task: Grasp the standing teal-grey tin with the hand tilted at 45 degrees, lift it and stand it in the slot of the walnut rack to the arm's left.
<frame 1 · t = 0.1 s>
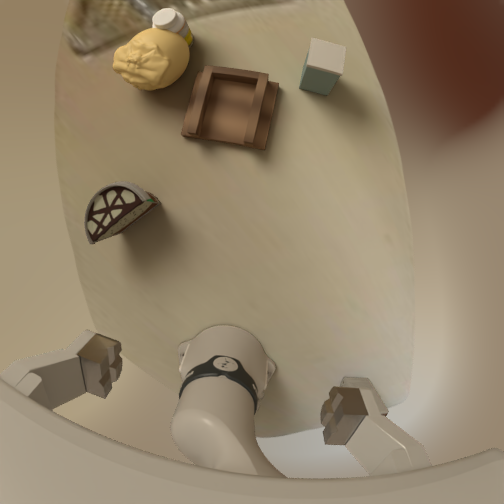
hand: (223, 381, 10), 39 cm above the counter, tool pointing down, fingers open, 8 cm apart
rack: (230, 109, 44), on the counter
supplement bottle: (180, 43, 42), on the counter, touching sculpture
skincare box: (353, 383, 53), on the counter
food container: (132, 203, 48), on the counter
tin: (315, 80, 43), on the counter
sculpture: (163, 69, 43), on the counter, touching supplement bottle
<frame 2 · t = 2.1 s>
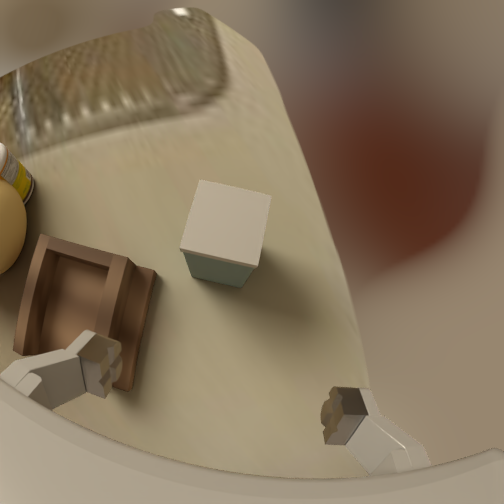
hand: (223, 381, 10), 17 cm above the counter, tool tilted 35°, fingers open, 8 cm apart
rack: (82, 312, 25), on the counter
supplement bottle: (20, 192, 27), on the counter, touching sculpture
tin: (221, 258, 29), on the counter
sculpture: (5, 241, 26), on the counter, touching supplement bottle
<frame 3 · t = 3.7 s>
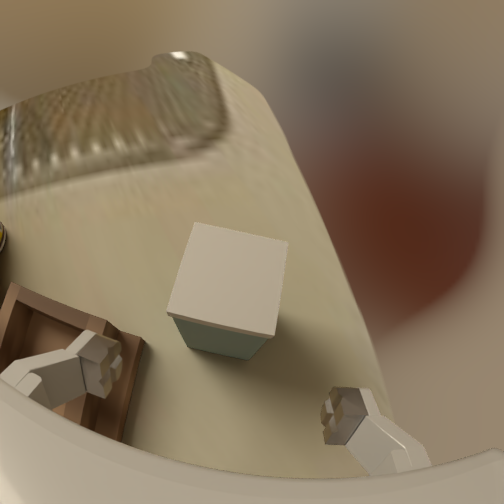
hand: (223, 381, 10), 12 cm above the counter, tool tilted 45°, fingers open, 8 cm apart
rack: (57, 379, 18), on the counter
tin: (224, 325, 23), on the counter
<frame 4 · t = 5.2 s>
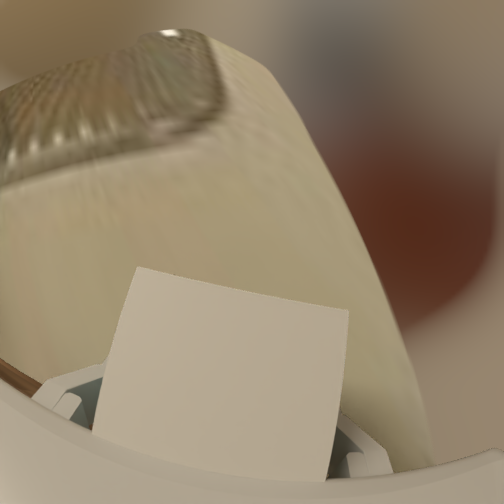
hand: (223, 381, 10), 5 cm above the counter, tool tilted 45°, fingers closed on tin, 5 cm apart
rack: (9, 446, 10), on the counter
tin: (219, 396, 14), on the counter, touching gripper
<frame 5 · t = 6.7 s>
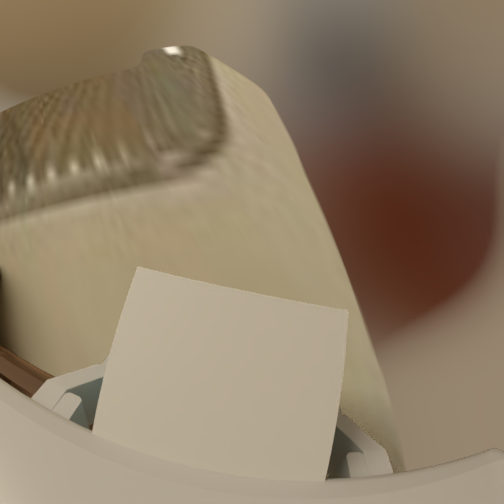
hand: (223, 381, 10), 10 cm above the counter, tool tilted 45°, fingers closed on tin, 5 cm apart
rack: (47, 441, 14), on the counter
tin: (219, 396, 14), point 5 cm above the counter, touching gripper
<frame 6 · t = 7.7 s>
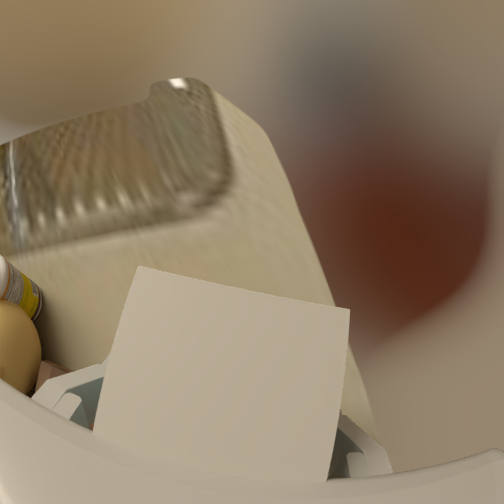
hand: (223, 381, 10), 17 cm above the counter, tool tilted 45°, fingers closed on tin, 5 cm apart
rack: (94, 436, 20), on the counter
supplement bottle: (28, 304, 26), on the counter, touching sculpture
tin: (220, 396, 14), point 12 cm above the counter, touching gripper
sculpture: (18, 358, 23), on the counter, touching supplement bottle
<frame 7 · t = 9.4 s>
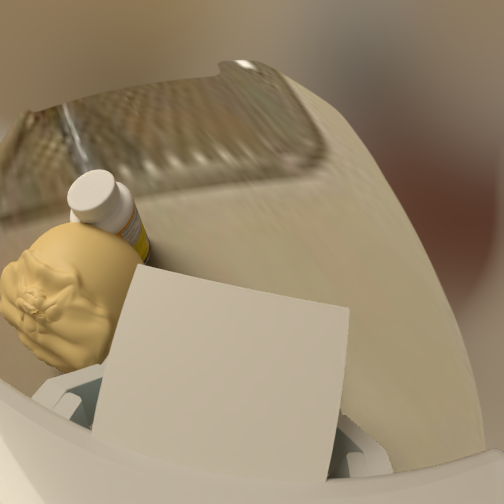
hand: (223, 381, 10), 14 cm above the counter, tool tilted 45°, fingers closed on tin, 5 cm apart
supplement bottle: (126, 255, 27), on the counter, touching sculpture
tin: (219, 395, 14), point 9 cm above the counter, touching gripper
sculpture: (102, 316, 24), on the counter, touching supplement bottle
when the fingers open (8 cm above the counter, at t = 10.8 s): tin stays where it is, resting on rack.
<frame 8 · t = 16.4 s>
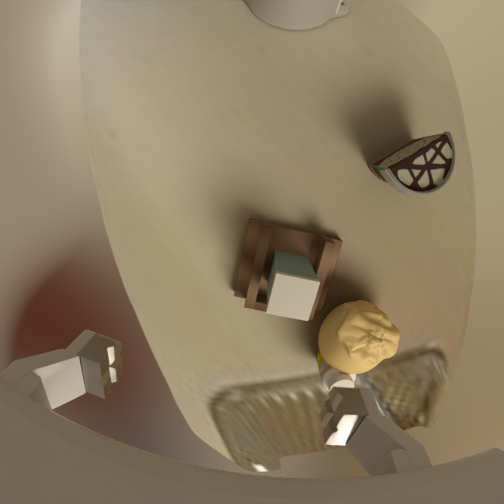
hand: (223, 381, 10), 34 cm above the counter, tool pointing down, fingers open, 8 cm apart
rack: (286, 266, 44), on the counter
supplement bottle: (330, 351, 48), on the counter, touching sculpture
food container: (399, 169, 39), on the counter
tin: (287, 269, 43), point 1 cm above the counter, touching rack
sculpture: (348, 322, 47), on the counter, touching supplement bottle
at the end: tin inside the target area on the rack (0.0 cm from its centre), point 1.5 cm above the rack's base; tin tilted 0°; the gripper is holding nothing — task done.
